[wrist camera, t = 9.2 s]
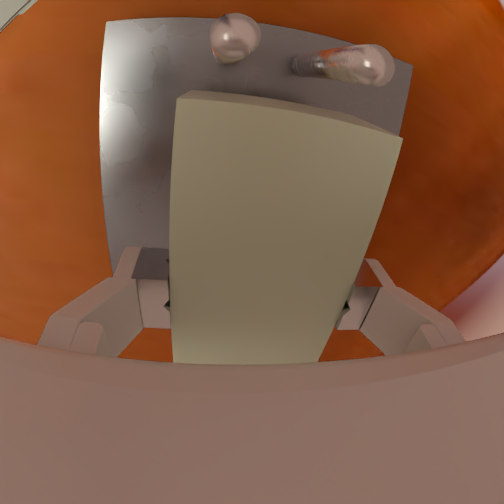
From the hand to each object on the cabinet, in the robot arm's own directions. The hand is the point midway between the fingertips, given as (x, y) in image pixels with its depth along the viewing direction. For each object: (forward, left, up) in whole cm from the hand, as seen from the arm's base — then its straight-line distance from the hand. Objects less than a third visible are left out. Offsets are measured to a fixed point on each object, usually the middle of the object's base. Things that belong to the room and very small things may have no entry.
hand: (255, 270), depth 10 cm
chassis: (0, 0, -6) cm, 6 cm away
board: (0, 0, -2) cm, 2 cm away
